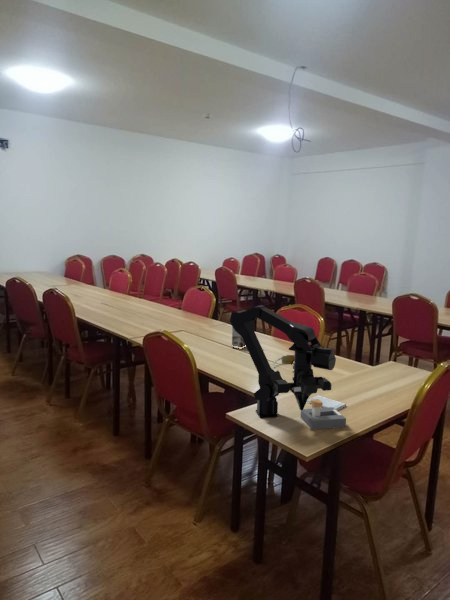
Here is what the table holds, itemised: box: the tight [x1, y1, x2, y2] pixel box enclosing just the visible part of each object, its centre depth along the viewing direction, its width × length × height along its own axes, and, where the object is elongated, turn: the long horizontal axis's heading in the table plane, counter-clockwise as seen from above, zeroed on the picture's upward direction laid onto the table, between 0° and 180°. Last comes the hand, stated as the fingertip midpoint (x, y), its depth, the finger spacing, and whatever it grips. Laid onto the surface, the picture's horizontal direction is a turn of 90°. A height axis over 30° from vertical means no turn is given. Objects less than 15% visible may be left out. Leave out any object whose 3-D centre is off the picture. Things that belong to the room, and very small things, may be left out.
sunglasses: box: [272, 353, 295, 373], centre depth 214 cm, size 14×15×5 cm
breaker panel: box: [300, 407, 347, 431], centre depth 148 cm, size 12×10×3 cm
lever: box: [310, 399, 323, 417], centre depth 148 cm, size 3×3×6 cm
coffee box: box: [231, 327, 245, 347], centre depth 252 cm, size 9×6×16 cm
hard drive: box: [307, 395, 347, 411], centre depth 165 cm, size 2×8×12 cm
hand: (301, 409), depth 146 cm, fingers closed
